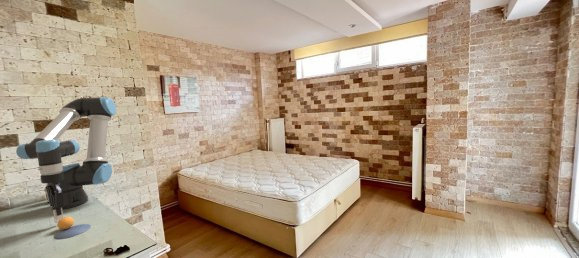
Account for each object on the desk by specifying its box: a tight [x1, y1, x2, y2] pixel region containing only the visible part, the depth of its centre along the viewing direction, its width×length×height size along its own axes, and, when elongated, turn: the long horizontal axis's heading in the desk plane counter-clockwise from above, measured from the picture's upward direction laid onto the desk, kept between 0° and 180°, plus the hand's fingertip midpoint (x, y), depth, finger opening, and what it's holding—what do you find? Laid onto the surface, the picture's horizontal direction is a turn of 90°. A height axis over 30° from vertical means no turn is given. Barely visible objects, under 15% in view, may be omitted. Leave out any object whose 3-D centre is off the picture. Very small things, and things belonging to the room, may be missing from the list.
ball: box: [56, 216, 75, 231], centre depth 106 cm, size 6×6×6 cm
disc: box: [53, 223, 92, 240], centre depth 103 cm, size 12×12×1 cm
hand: (59, 221), depth 110 cm, fingers closed
